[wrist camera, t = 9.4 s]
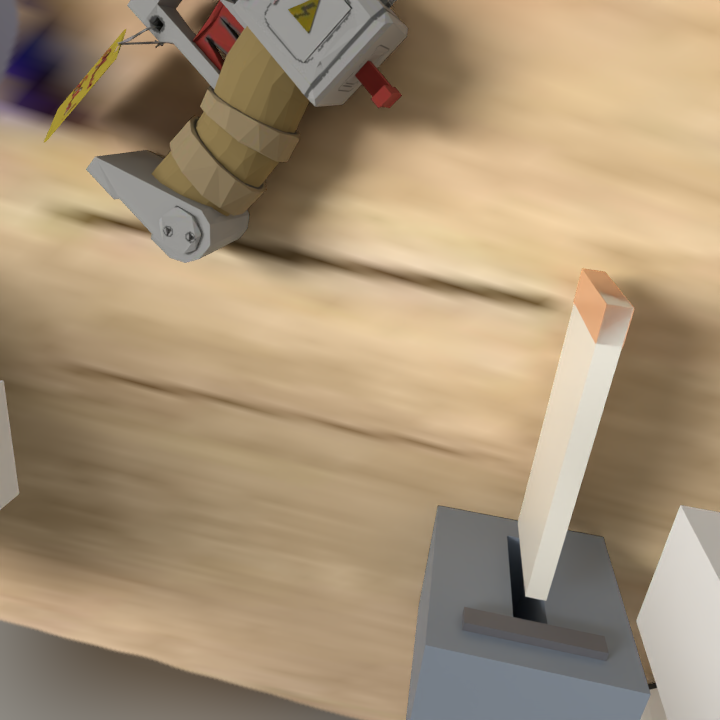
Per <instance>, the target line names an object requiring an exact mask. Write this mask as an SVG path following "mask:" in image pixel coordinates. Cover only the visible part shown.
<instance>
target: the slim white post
mask: <svg viewBox="0 0 720 720" xmlns="http://www.w3.org/2000/svg"><path fill="white" fill-rule="evenodd" d="M634 309H635V308H634V307H633V305H632V304H631V303H630V302H629V301H628V299H627V298H626V297H625V296H624V294H623V293H622V292H621V291H620V289H619V288H618V287H617V286H616V284H615V283H614V282H613V281H612V279H611V278H610V277H609V276H608V274H607V273H606V272H603V271H596V270H589V269H582V271H581V274H580V278H579V282H578V286H577V290H576V294H575V298H574V305H573V309H572V313H571V317H570V321H569V325H568V329H567V332H566V336H565V340H564V344H563V348H562V352H561V356H560V360H559V364H558V368H557V371H556V375H555V379H554V383H553V387H552V391H551V395H550V399H549V403H548V406H547V410H546V414H545V418H544V422H543V426H542V430H541V434H540V438H539V441H538V445H537V449H536V453H535V457H534V461H533V465H532V469H531V473H530V476H529V480H528V484H527V488H526V492H525V496H524V500H523V504H522V508H521V511H520V515H519V519H518V531H519V540H520V550H521V559H522V569H523V578H524V588H525V597H530V598H535V599H540V600H545V601H546V600H547V597H548V593H549V590H550V587H551V583H552V580H553V577H554V573H555V570H556V567H557V563H558V560H559V557H560V553H561V550H562V546H563V543H564V540H565V536H566V533H567V530H568V526H569V523H570V520H571V516H572V513H573V510H574V506H575V503H576V500H577V496H578V493H579V490H580V486H581V483H582V480H583V476H584V473H585V469H586V466H587V463H588V459H589V456H590V453H591V449H592V446H593V443H594V439H595V436H596V433H597V429H598V426H599V423H600V419H601V416H602V413H603V409H604V406H605V402H606V399H607V396H608V392H609V389H610V386H611V382H612V379H613V376H614V372H615V369H616V366H617V362H618V359H619V356H620V352H621V349H622V348H623V346H624V343H625V339H626V336H627V333H628V329H629V326H630V323H631V319H632V316H633V313H634Z"/></svg>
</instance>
